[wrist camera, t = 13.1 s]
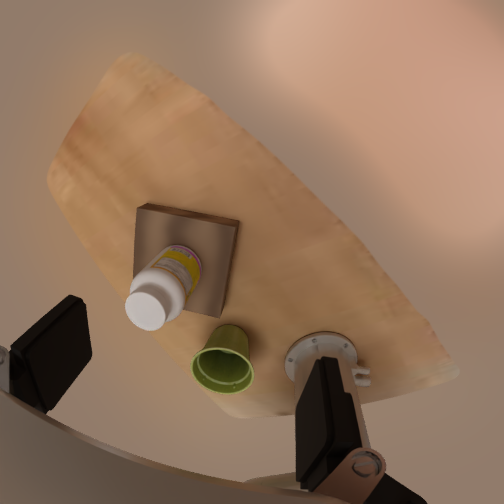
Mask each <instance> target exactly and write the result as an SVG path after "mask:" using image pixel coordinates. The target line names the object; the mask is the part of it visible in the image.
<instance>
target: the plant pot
mask: <svg viewBox="0 0 504 504" xmlns="http://www.w3.org/2000/svg"><path fill="white" fill-rule="evenodd" d="M190 369H191V373H192V375H193V377H194V379H195V380H196V381H197V382H198V383H199V384H200V385H201V386H202V387H204V388H206V389H207V390H209V391H212V392H215V393H218V394H227V395H228V394H236V393H240V392H242V391H244V390H246V389H247V388H248V387H250V385H251V384H252V382H253V380H254V369H253V366H252V364H251V362H250V360H249V345H248V337H247V335H246V334H245V333H244V331H243V330H242V329H241V328H239V327H237V326H234V325H223V326H221V327H219V328H216V329H215V330H214V332H213V334H212V335H211V337H210V338H209V340H208V342H207V343H206V345H205V347H204V348H203V349H202V350H201V351H199V352H197V353H196V354H195V355H194V357H193V359H192V361H191V364H190Z"/></svg>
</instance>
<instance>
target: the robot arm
mask: <svg viewBox="0 0 504 504" xmlns="http://www.w3.org/2000/svg"><path fill="white" fill-rule="evenodd" d="M91 357H92V348H91V341H90V335H89V327H88V319H87V310H86V304H85V303H84V302H83V300H82V299H81V298H79V297H76V296H73V295H68V296H67V297H66V298H65V299H63V300H62V301H61V302H60V303H59V304H57V305H56V306H55V307H54V308H53V309H51V310H50V311H49V312H48V313H47V314H45V315H44V316H43V317H42V318H41V319H40V320H39V321H38V322H36V323H35V324H34V325H33V326H32V327H31V328H29V329H28V330H27V331H26V332H25V333H24V334H23V335H22V336H20V337H19V338H18V339H17V340H16V341H15V342H14V343H13V344H12V345H11V350H10V351H9V352H8V350H7V349H6V348H5V347H3V346H0V504H427V502H426V501H425V500H424V499H423V498H422V497H421V496H419V495H417V494H416V493H414V492H413V491H411V490H409V489H408V488H407V487H405V486H404V485H402V484H400V483H399V482H397V481H396V480H395V479H393V478H392V477H390V476H389V475H387V474H386V473H385V471H386V462H385V459H384V458H383V457H382V455H381V454H380V453H378V452H377V451H375V450H373V449H371V446H370V442H369V439H368V435H367V430H366V426H365V422H364V418H363V414H362V410H361V405H360V401H359V397H358V393H357V389H356V386H361V387H369V386H370V384H371V377H367V376H355V375H356V374H357V373H358V374H364V375H368V374H369V373H370V367H359V366H358V365H356V364H357V352H356V349H355V347H354V345H353V344H352V342H351V341H350V340H349V339H347V338H346V337H344V336H342V335H340V334H337V333H331V332H320V333H314V334H311V335H308V336H306V337H303V338H301V339H300V340H298V341H297V342H296V343H295V344H294V345H293V346H292V347H291V348H290V349H289V351H288V352H287V355H286V357H285V371H286V374H287V376H288V377H289V378H290V380H291V381H292V382H294V388H295V440H296V472H292V473H286V474H279V475H272V476H266V477H259V478H254V479H250V480H247V481H245V482H243V483H242V482H237V481H232V480H226V479H221V478H216V477H211V476H206V475H202V474H198V473H194V472H190V471H186V470H182V469H178V468H175V467H171V466H168V465H164V464H161V463H158V462H155V461H152V460H148V459H146V458H143V457H140V456H137V455H134V454H131V453H128V452H126V451H123V450H120V449H118V448H115V447H113V446H110V445H107V444H105V443H103V442H100V441H98V440H96V439H94V438H92V437H89V436H87V435H85V434H83V433H81V432H78V431H76V430H74V429H72V428H70V427H68V426H66V425H64V424H62V423H60V422H58V421H56V420H55V419H53V418H51V417H49V416H47V415H46V413H47V412H48V411H49V410H52V409H53V408H54V407H55V406H56V404H57V403H58V401H59V400H60V399H61V397H62V396H63V395H64V394H65V392H66V391H67V389H68V388H69V387H70V386H71V384H72V383H73V382H74V380H75V379H76V378H77V376H78V375H79V374H80V373H81V371H82V370H83V369H84V367H85V366H86V365H87V363H88V362H89V361H90V360H91Z"/></svg>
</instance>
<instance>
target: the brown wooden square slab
mask: <svg viewBox="0 0 504 504" xmlns="http://www.w3.org/2000/svg"><path fill="white" fill-rule="evenodd" d="M238 224H239V221H237V220H232V219H227V218H222V217H217V216H212V215H207V214H202V213H197V212H191V211H186V210H181V209H176V208H170V207H165V206H160V205H154V204H149V203H147V204H144V205H142V206H140V207H138V208H137V213H136V227H135V243H134V268H133V279H134V278H135V277H136V275H137V274H138V273H139V272H140V271H141V270H143V269H144V268H145V267H146V266H147V265H148V264H149V263H150V262H151V261H152V260H153V259H154V258H155V257H156V256H157V255H158V254H159V253H160V252H161V251H163V250H164V249H165V248H167V247H169V246H173V245H180V246H184V247H187V248H189V249H190V250H192V251H193V252H194V253H195V254H196V255H197V257H198V258H199V260H200V263H201V267H202V273H201V277H200V279H199V282H198V283H197V285H196V287H195V289H194V290H193V292H192V294H191V296H190V297H189V299H188V301H187V303H186V304H185V306H184V308H183V310H187V311H191V312H195V313H199V314H203V315H208V316H212V317H216V318H220V316H221V314H222V311H223V308H224V303H225V297H226V292H227V286H228V280H229V274H230V269H231V263H232V258H233V252H234V246H235V241H236V235H237V230H238Z"/></svg>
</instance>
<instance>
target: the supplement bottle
mask: <svg viewBox="0 0 504 504" xmlns="http://www.w3.org/2000/svg"><path fill="white" fill-rule="evenodd" d="M201 273H202V267H201V263H200V260H199V258H198V257H197V255H196V254H195V253H194V252H193V251H192V250H190V249H189V248H187V247H184V246H180V245H173V246H169V247H167V248H165V249H164V250H163V251H161V252H160V253H159V254H158V255H157V256H156V257H155V258H154V259H153V260H152V261H151V262H150V263H149V264H148V265H147V266H146V267H145V268H144V269H143V270H141V271H140V272H139V273H138V274H137V275H136V277H135V278H134V279H133V281H132V284H131V287H130V295H129V297H128V298H127V300H126V304H125V308H126V313H127V315H128V317H129V318H130V320H131V321H132V322H133V323H134V324H135V325H136V326H138V327H140V328H142V329H145V330H150V331H152V330H157V329H159V328H161V327H162V326H163V324H164V323H165V322H168V321H171V320H173V319H175V318H176V317H177V316H178V315H179V314H180V313H181V311H182V310H183V308H184V306H185V304H186V303H187V301H188V299H189V297H190V296H191V294H192V292H193V290H194V289H195V287H196V285H197V283H198V282H199V279H200V277H201Z"/></svg>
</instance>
